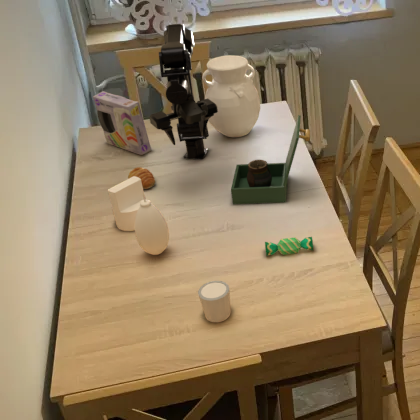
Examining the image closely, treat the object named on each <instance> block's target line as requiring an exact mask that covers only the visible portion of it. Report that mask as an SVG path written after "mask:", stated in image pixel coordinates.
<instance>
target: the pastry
mask: <svg viewBox="0 0 420 420" xmlns="http://www.w3.org/2000/svg"><path fill="white" fill-rule="evenodd" d="M133 176H135V177H138V178H140V179H141V182H142V186H143V190H148V189H150V188H153V187H154V186H155V184H156V178H155V177H154V174H153V173H152V172H151V171H150V170H149V169H147V168H143V167H141V166H138V167H134V168H133V169H132V170H130V171H129V173H128V176H127V179H129V178H131V177H133Z"/></svg>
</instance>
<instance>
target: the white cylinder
mask: <svg viewBox="0 0 420 420" xmlns="http://www.w3.org/2000/svg"><path fill="white" fill-rule="evenodd" d="M230 293H231V291H230V285H229V284H228V283H227V282H225V281H223V280H211V281H208V282H206V283H203V284H202V285H201V286H200V287H199V288H198V290H197V295H198V298H199V301H200V304H201V307H202V310H203V313H204V316H205V318H206V320H207V321H209V322H211V323H221V322H224V321H226V320H227V319H228V318H229V317H230V315H231V312H232V311H231V296H230V295H231V294H230Z"/></svg>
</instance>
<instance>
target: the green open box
mask: <svg viewBox="0 0 420 420" xmlns="http://www.w3.org/2000/svg"><path fill="white" fill-rule="evenodd" d="M285 163H286V162H270V163H269V162H267V165H268V169H269V171H270V173H271V175H272V182H271V185H270V187H249V184H248V181H247V174H248V164H249V163H244V164H243V163H241V164H236V166H235V169H234V170H235V171H234V175H233V178H232V183H231V186H230V195H231V201H232V205H251V204H255V205H256V204H276V203H277V204H278V203H286V202H287V194H288V182H289V178H288V179H287V183H286V186H283V182H284V173H285Z"/></svg>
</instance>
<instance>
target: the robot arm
mask: <svg viewBox="0 0 420 420" xmlns="http://www.w3.org/2000/svg"><path fill="white" fill-rule="evenodd" d="M165 28H166V29H165V30H164V32H163V40H164V44H162V45H161V47H160V51H158V61H159V69H160V77H161V78H166V79H167V81H166V82H167V83H166V90H165V97H166V99H167V101H168V102H169V103H171V106H170V108H171V111H172V112H170V113H167V114H166V113H165V112H164V111H163V110H162V111H157V112H154V113H151V114H150V116H149V123H150V124H151V125H152V126H153V127H154V128H156V130H161V131H163V132H165V134H166V136H167V138H168V139H169V140H170V142H171V143H172V145H173V146H176V139H175V135H174V131H173V126H172V125H171V124H172V121H173V120H177V122H178V123H176V130H177V131H176V132H177V136H178V139H179V142H180V143H181V142H184V145H185V149H186V152H185V153H184V155H183V159H190V160H203V159H204V158H205V157H206V155H207V154H208V152H209V151H210V149H209V148H206V147H205V143H204V140H207V138H208V137H209V136H210V134H209V129H208V123H209V121H208V120H209V118H210V117H212V116H214V113H217V112H218V109H217V105H216V104H215V103H214V102H212V101H211V100H209V99H208V98H207V99H205V98H203V99H201V100H197V101H196V100H195V95H194V87H193V80H192V72H191V71H193V67H192V66H193V65H192V60H191V59H192V56H193V54H194V48H195V40H194V39H195V38H194V35H193V32H192V30H191V29H189V28H187V27H185V24H184V23H183V24H182V23H171V24H168V25H166V27H165ZM164 69H165V70H164Z"/></svg>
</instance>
